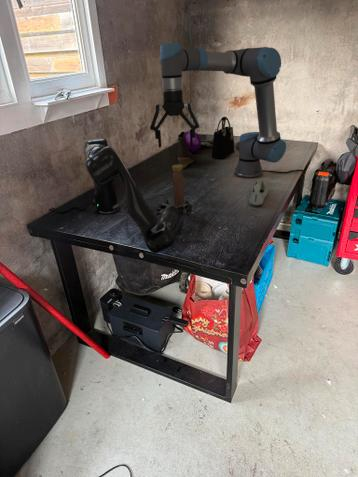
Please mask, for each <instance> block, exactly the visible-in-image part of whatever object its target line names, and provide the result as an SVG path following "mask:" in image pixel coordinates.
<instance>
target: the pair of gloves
mask: <svg viewBox="0 0 358 477" xmlns="http://www.w3.org/2000/svg"><path fill="white" fill-rule="evenodd" d="M213 138H214V134H212V135H210V134H206V135H205V139H204V140H203V139H201V145H200V148H199V149H202V148H206V147H209V148H211V149H212V147H213Z"/></svg>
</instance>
